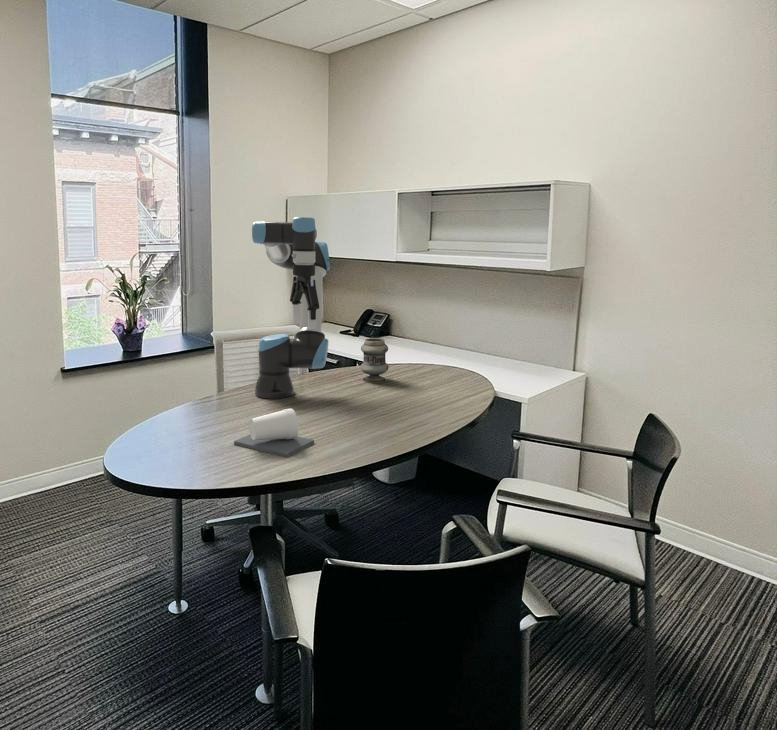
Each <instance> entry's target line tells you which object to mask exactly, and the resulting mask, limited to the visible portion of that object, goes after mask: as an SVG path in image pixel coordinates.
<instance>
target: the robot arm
mask: <svg viewBox="0 0 777 730" xmlns="http://www.w3.org/2000/svg"><path fill="white" fill-rule="evenodd" d="M251 237H252V239H251V240H252V242H253V243H254V244H257V245H258V244H259V245H263V246H264V247H265V251H266V252H265V253H266V255H267V258H268V259H269V261H270V262H271V263H272V264H274V265H276V266H278V267H280V268H282V269H287V270H292V275H293V276H292V277H293V278H292V286H291V291H290V297H289V302H291V304H292V324H299V330H298V331H297V332H296V333H295V335H294V336H295V337H294V338H290V336H289V334H287V333H277V334H270V335H266V336H263V337H261V338H260V339H259V341H258V350H257V351H258V369H259V371H258V372H259V374H258V377H257V378H258V379H257V381H256V385H255V387H254V395H255V396H257V397H259V398H263V399H270V400H271V399H273V400H275V399H283V398H284V399H285V398H288V397H292V396H294V394H295V388H294V385H293V382H292V379H291V376H290V369H312V370H314V369H322V368H323V369H324V367H325V366H326V362H327V357H328V351H329V339H328V338H326V334H325V333H324V332H323V331H322V317H323V316H322V313H323V312H322V311H323V310H322V309H323V308H322V307H323V278H324V277H325V276H326V275H327V272H329V271H330V270H331V265H330V264H331V263H330V255H329V247H328V244H327V243H326V242H324V241H317V240H316V239H317V228H316V219H315V218H314V217H312V216H311V217H305V216H302V217H301V216H295V217H293V218H292V222H289V221H288V222H287V221H286V222H285V221H284V222H283V221H282V222H281V221H277V222H276V221H254V222H253V223H252V226H251Z"/></svg>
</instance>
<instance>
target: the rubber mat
mask: <svg viewBox="0 0 777 730" xmlns="http://www.w3.org/2000/svg"><path fill="white" fill-rule="evenodd" d="M313 444H315V439H310V438H306V437H302V436H298V435H297V437H296V438H294V439H288V440H287V439H269V440H253V439H252V438H251V435H250V434H247V435H245V436H243V437H241V438H238V439H236V440H234V441H233V445H235V446H241V447H244V448H248V449H253V450H257V451H261V452H264V453H269V454H273V455H276V456H280V457H285V458H287V457H290V456H291V455H293V454H296V453H298V452H299V451H302V450H303V449H306V448H307V447H309V446H312V445H313Z"/></svg>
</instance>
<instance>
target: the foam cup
mask: <svg viewBox="0 0 777 730" xmlns="http://www.w3.org/2000/svg"><path fill="white" fill-rule="evenodd" d="M248 430H249V431H248V432H249V435H251V438H252V439H253V440H269V439H287V440H288V439H294V438H296V437H297V436H298V434H299V420H298V416H297V413H296V411H295V410H294V409H293V408H291V407H290V408H285V409H282V410H279V411H276V412H271V413H269V414H268V413H267V414H265V415H260V416H257V417H253V418H250V419H249V421H248Z"/></svg>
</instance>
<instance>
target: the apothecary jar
mask: <svg viewBox="0 0 777 730" xmlns="http://www.w3.org/2000/svg"><path fill="white" fill-rule="evenodd" d="M360 350H361V352H362V353H363V360H362V361H363V362H362V363H361V365H360V370H361V372H363V373H364V374H366V375H367V376H364V377H363V378H362V380H363V381H364V382H366V383H372V384H380V383H384V382H386V377H383V376H381V375H384V374H385V373H387V372H388V370H389V365H388V363H387V362H386V353H387V352H388V351H389V346H388V345H387V344H386V343H385V339H384V338H382V337H368V338H365V339H364V342H363V344H362V345H361V346H360Z"/></svg>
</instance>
